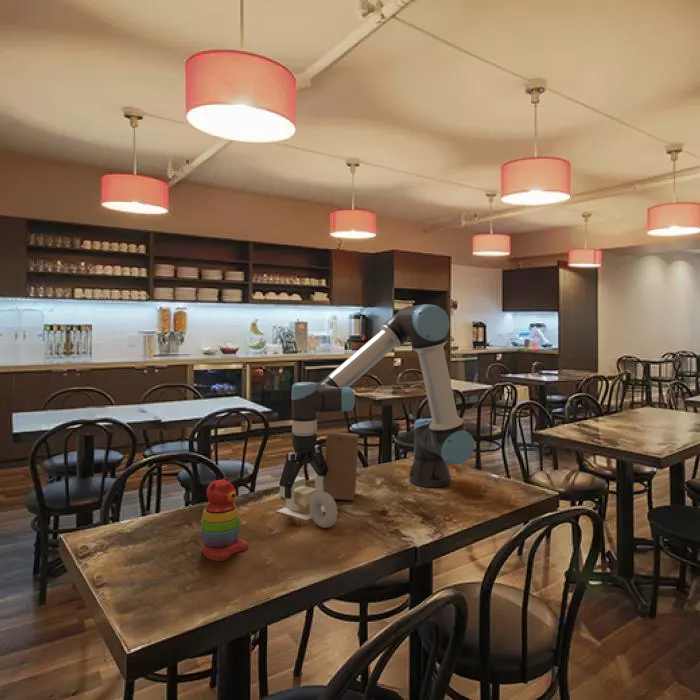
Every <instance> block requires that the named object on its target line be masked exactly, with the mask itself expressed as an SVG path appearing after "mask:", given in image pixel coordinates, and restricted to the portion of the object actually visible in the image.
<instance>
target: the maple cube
mask: <svg viewBox="0 0 700 700" xmlns="http://www.w3.org/2000/svg"><path fill="white" fill-rule="evenodd" d="M315 493H318V489H315V487H311V486H310V487H309V486H301V487H298V488H295V489H294V505H295V509H294V510H292V509H290V510H292V511H296V512H300V513H303V514H306V513H308V512H310V501H311V498H312V497H313V496H314V494H315Z"/></svg>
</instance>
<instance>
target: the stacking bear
mask: <svg viewBox="0 0 700 700" xmlns="http://www.w3.org/2000/svg"><path fill="white" fill-rule="evenodd" d="M236 496H237V490H236V488H235V487H234V485H233V484H232V482H230V481H229V478H228V477H224V478H222V479H218V480H214V481H212V482H211V483H210V484H209V485H208V486H207V489H206V497H207V501H208V503H207V504H206V506H205V508H204V509H203V512H202V518H201V522H200V531H201V535H202V539H203V545H202V547H201V552H202V554H203V556H204V557H205V558H207V559H208V560H212V561H214V562H223V561H226V560H228V559H229V558H230V556H232V555H233V554H235V553H239V552H243V551H246V550H247V549H248V548H249V544H248V542H247V541H246V540H244V539H242V538H239V537H238V536H239V532H240V521H241V520H240V517H239V513H238V509H237V505H236V503H235V502H234V500H235V499H236Z"/></svg>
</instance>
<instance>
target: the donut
mask: <svg viewBox="0 0 700 700" xmlns="http://www.w3.org/2000/svg"><path fill="white" fill-rule="evenodd" d="M335 500H336V499H333V497H332V496H331V495H330V494H328V493H327V492H322V491H320V492H318V493H315V494H314V496H313V497H312V498H311V501H310V514H311V517H312V518H311V519H312V521H313V522H314V523H315V524H316V525H317V526H318V527H319V528H324V529H327V528H330V527H332V526H333V525H334V524H335V523H336V521H337V518H338V512H339V511H338V506H337V503H336V501H335ZM321 505H323V506H324V507H325V512H324V513H325V514H324V513H323V512H322V509H321Z"/></svg>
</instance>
